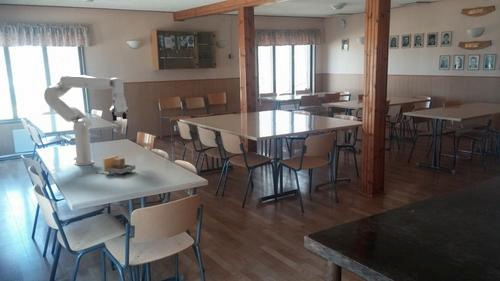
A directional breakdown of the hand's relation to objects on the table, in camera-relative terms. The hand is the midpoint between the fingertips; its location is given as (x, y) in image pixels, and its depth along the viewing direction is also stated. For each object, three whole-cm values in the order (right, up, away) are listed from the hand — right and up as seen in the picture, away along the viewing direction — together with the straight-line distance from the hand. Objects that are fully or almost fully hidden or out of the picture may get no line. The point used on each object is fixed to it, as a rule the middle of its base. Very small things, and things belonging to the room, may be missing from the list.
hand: (119, 120), depth 288 cm
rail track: (+6, -35, -25) cm, 44 cm away
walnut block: (+8, -33, -27) cm, 43 cm away
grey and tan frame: (+9, -36, -27) cm, 46 cm away
